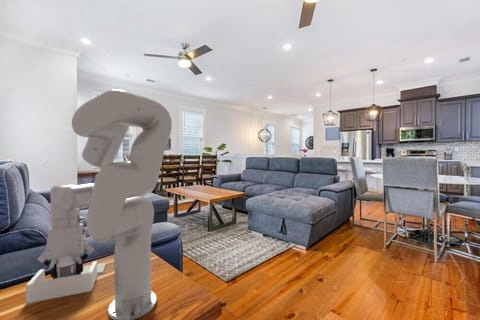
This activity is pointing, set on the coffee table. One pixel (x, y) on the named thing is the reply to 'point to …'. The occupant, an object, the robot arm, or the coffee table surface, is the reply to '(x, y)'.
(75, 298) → the coffee table surface
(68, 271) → the pill bottle
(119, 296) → the robot arm
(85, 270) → the tile
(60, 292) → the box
